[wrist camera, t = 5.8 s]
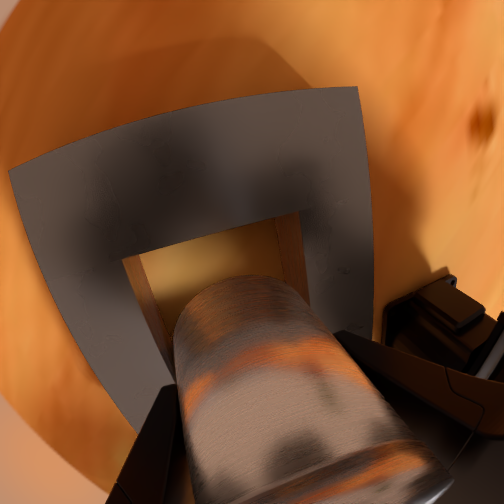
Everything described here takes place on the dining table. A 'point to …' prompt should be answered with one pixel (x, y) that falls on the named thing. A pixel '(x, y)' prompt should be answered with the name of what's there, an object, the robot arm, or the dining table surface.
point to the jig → (199, 219)
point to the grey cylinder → (287, 408)
